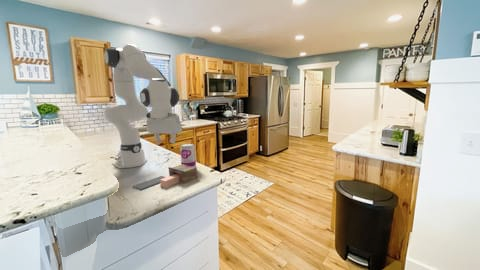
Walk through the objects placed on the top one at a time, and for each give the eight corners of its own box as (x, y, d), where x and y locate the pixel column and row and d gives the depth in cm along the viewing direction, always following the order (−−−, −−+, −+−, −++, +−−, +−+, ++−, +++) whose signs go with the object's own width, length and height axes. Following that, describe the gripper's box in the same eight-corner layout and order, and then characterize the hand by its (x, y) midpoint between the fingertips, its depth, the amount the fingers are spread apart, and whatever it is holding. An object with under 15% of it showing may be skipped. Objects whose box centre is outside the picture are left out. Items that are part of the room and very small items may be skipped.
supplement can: (192, 172, 122) (191, 146, 119) (179, 171, 123) (177, 146, 121) (198, 167, 129) (196, 143, 127) (185, 167, 131) (183, 143, 129)
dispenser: (169, 179, 112) (168, 167, 111) (183, 174, 119) (182, 162, 118) (183, 183, 105) (182, 170, 104) (197, 177, 113) (196, 165, 112)
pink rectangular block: (160, 186, 103) (159, 179, 103) (183, 177, 115) (182, 171, 114) (165, 188, 101) (165, 181, 101) (188, 178, 112) (187, 172, 112)
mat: (132, 187, 103) (132, 185, 103) (161, 176, 116) (161, 175, 116) (140, 190, 99) (140, 189, 99) (169, 179, 112) (169, 178, 112)
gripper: (183, 112, 97) (186, 142, 99) (154, 113, 108) (157, 140, 110) (172, 113, 92) (176, 144, 94) (142, 114, 103) (146, 143, 105)
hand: (165, 142), depth 102 cm, fingers open, 8 cm apart
